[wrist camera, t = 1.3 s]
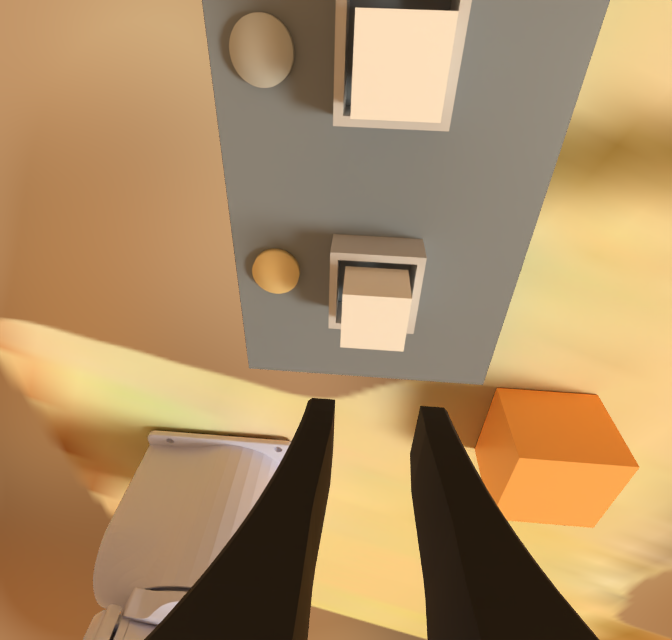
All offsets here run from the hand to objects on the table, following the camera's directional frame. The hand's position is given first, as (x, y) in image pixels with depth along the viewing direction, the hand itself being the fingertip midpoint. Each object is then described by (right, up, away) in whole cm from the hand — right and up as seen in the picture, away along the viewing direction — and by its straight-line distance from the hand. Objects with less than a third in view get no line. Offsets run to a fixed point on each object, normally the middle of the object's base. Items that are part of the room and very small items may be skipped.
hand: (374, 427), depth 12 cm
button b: (+1, +10, +1) cm, 10 cm away
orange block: (+10, -3, +13) cm, 17 cm away
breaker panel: (+1, +9, +5) cm, 10 cm away
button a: (0, +4, +5) cm, 7 cm away
